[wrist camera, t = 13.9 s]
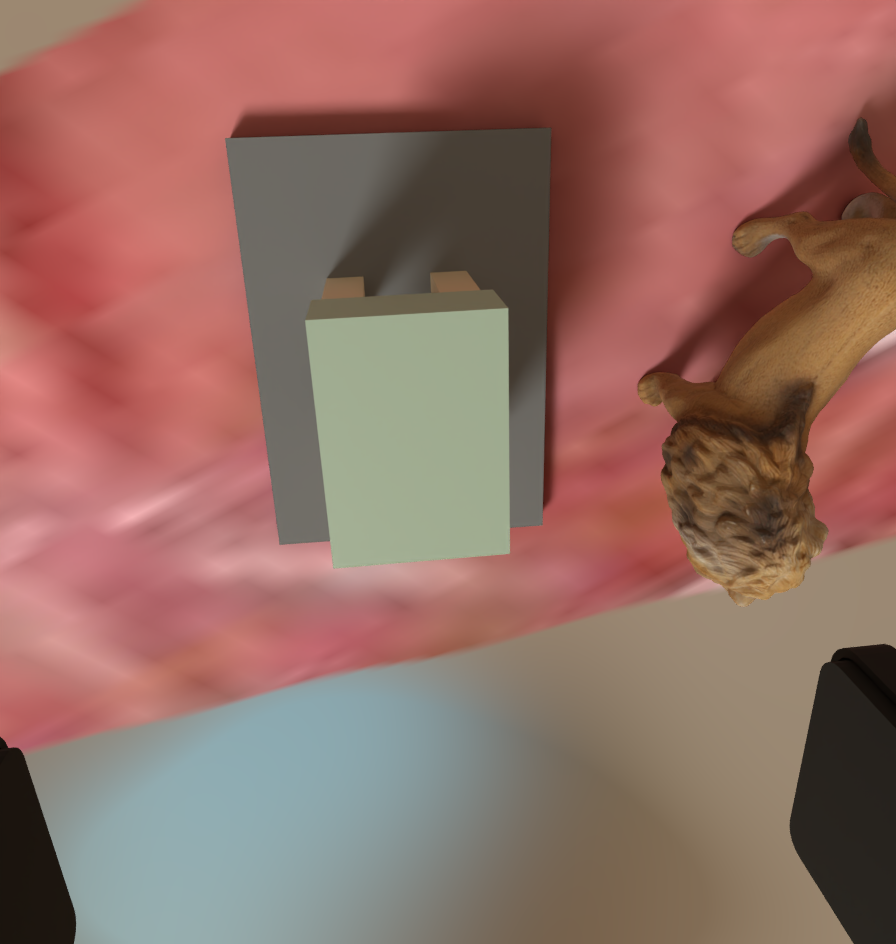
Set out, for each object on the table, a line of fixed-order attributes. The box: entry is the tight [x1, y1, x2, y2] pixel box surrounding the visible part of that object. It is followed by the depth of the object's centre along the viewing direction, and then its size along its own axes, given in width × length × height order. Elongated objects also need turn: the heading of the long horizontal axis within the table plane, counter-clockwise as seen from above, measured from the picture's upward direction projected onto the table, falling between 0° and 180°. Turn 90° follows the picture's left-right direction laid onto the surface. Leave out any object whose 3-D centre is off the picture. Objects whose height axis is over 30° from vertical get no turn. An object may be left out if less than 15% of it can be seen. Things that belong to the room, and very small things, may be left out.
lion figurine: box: [638, 118, 896, 607], centre depth 24 cm, size 15×5×9 cm, turn 158°
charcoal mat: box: [225, 128, 551, 545], centre depth 27 cm, size 10×14×1 cm
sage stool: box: [305, 271, 510, 569], centre depth 24 cm, size 7×5×7 cm
